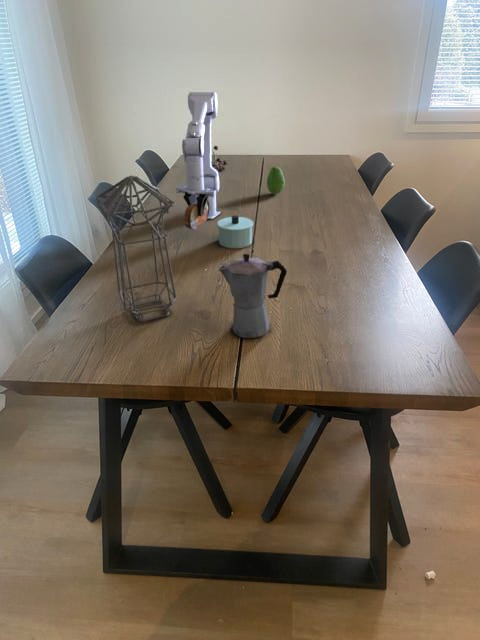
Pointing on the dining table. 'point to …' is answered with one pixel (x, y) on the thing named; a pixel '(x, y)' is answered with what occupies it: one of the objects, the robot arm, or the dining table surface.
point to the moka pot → (250, 293)
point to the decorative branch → (218, 161)
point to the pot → (235, 238)
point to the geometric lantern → (167, 204)
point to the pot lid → (235, 223)
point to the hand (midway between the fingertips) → (197, 214)
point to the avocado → (275, 180)
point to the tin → (195, 215)
